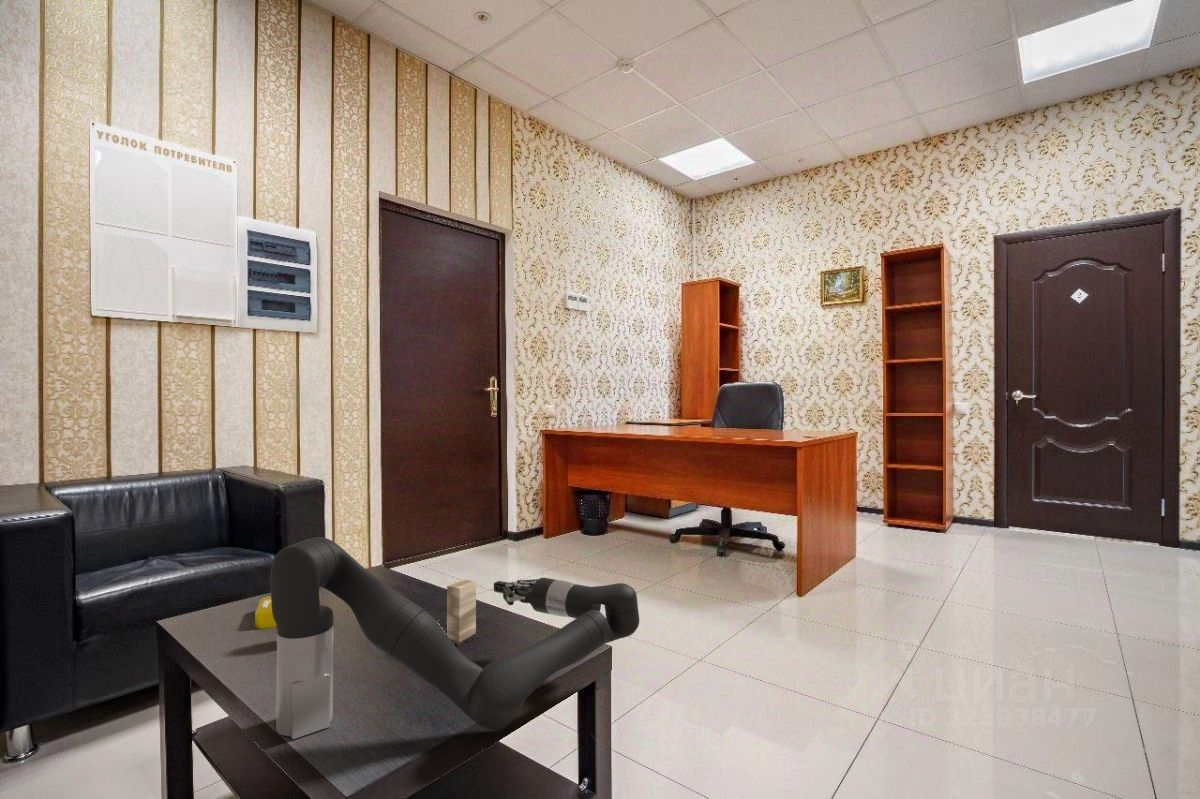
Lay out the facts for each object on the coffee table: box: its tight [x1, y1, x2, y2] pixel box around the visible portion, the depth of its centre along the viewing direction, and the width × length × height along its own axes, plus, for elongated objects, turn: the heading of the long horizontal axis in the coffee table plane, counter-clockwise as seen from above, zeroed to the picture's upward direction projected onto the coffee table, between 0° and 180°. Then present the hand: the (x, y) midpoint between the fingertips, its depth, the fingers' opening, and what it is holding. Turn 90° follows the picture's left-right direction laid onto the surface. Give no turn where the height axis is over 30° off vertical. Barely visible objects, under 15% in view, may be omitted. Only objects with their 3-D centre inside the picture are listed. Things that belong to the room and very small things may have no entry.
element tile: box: [254, 591, 321, 630], centre depth 157 cm, size 15×15×5 cm
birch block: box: [446, 579, 477, 643], centre depth 141 cm, size 4×6×14 cm, turn 152°
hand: (495, 586), depth 137 cm, fingers closed
